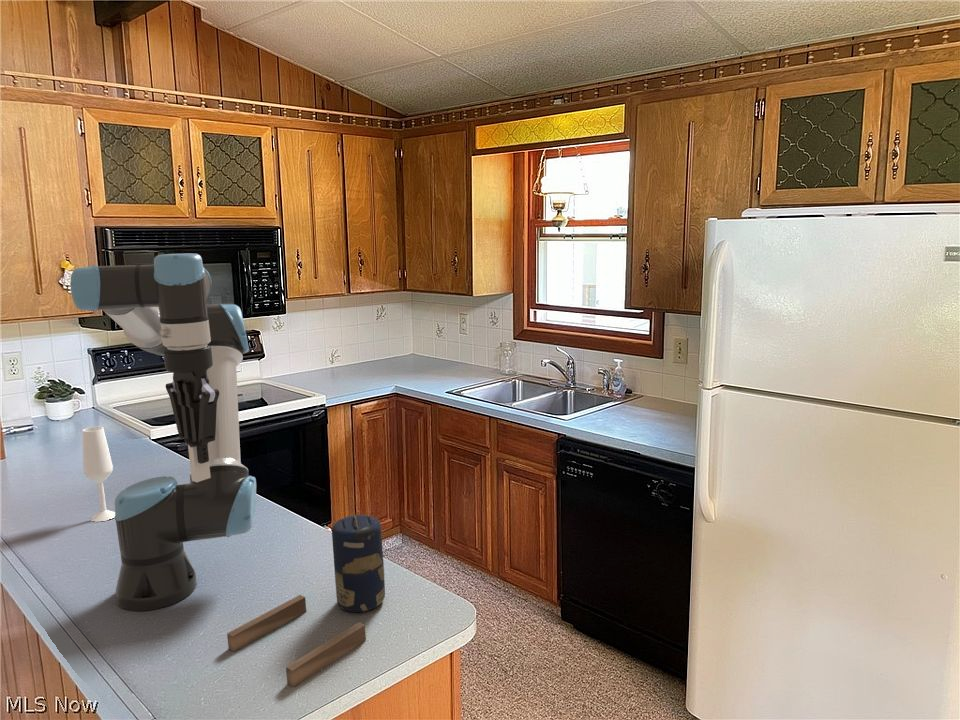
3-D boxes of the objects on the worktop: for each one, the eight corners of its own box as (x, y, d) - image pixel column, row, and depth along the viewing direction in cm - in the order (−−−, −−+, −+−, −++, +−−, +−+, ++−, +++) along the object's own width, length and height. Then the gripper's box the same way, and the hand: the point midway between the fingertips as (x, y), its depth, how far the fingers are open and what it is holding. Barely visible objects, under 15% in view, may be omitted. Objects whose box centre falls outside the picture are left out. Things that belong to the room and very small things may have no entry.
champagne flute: (124, 512, 186) (113, 425, 182) (109, 522, 180) (97, 432, 175) (100, 511, 187) (89, 425, 183) (84, 522, 181) (71, 432, 176)
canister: (388, 589, 143) (383, 506, 140) (383, 615, 134) (378, 527, 131) (341, 591, 143) (335, 508, 140) (332, 617, 134) (326, 528, 130)
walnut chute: (228, 648, 125) (227, 633, 124) (301, 608, 137) (299, 594, 136) (293, 687, 114) (292, 670, 113) (365, 640, 126) (364, 625, 125)
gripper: (145, 346, 119) (161, 478, 123) (187, 353, 111) (202, 493, 116) (186, 340, 125) (200, 466, 129) (229, 346, 117) (241, 480, 121)
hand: (201, 479), depth 122 cm, fingers closed
